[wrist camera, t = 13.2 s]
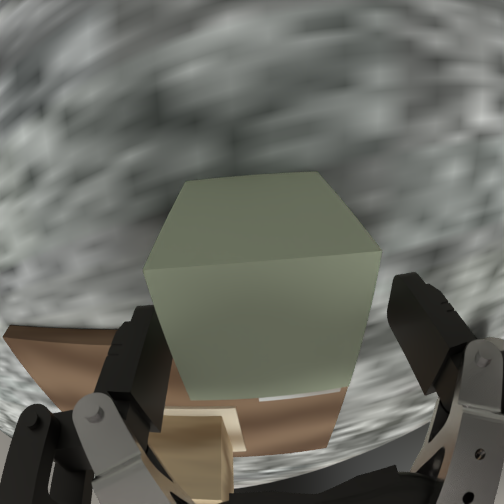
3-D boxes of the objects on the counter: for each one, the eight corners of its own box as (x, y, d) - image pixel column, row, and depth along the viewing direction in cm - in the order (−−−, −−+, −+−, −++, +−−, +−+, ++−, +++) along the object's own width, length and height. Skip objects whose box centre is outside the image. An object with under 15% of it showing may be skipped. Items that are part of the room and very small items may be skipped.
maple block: (135, 413, 17) (122, 490, 12) (221, 415, 17) (221, 499, 12) (161, 446, 20) (155, 508, 15) (232, 447, 20) (234, 513, 15)
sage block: (185, 181, 11) (142, 270, 6) (316, 171, 11) (382, 250, 6) (203, 286, 14) (190, 400, 8) (313, 277, 14) (348, 386, 8)
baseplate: (9, 325, 15) (1, 339, 14) (357, 312, 15) (365, 331, 14) (100, 436, 23) (97, 447, 22) (324, 436, 23) (326, 449, 22)
